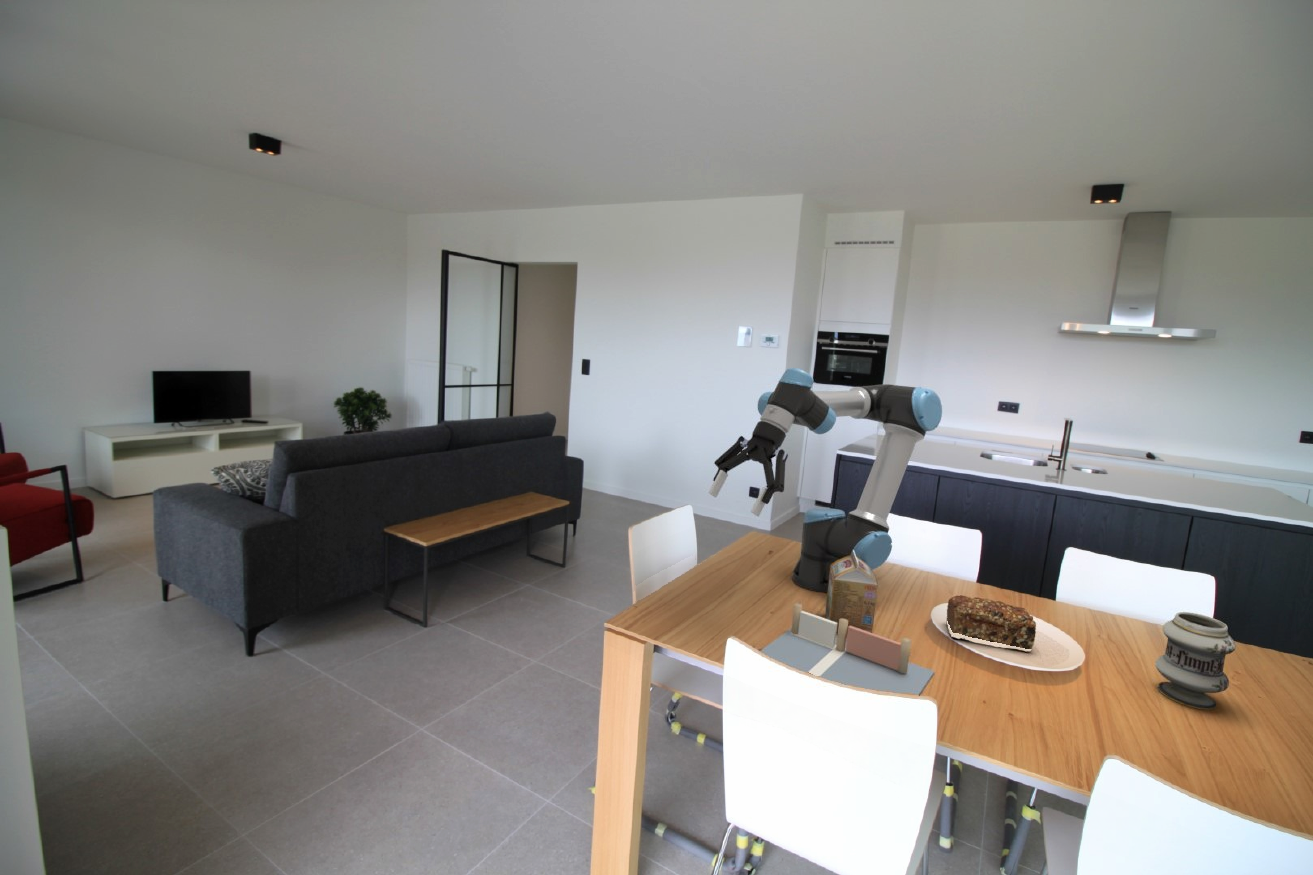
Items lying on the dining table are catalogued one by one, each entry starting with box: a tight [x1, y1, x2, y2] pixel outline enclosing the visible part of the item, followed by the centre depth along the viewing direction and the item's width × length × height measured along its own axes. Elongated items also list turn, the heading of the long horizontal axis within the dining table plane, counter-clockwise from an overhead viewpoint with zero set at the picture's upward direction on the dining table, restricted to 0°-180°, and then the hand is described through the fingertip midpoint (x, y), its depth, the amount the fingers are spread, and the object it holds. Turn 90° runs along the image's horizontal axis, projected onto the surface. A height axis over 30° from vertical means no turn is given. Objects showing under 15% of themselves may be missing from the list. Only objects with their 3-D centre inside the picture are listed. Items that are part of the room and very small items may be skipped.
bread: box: [946, 594, 1037, 650], centre depth 153 cm, size 19×11×10 cm, turn 72°
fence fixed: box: [790, 602, 848, 651], centre depth 145 cm, size 2×14×7 cm, turn 52°
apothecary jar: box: [1155, 611, 1237, 711], centre depth 130 cm, size 12×12×18 cm
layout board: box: [760, 627, 935, 696], centre depth 136 cm, size 22×33×1 cm, turn 51°
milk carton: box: [824, 550, 879, 634], centre depth 155 cm, size 11×11×19 cm
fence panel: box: [845, 626, 912, 673], centre depth 136 cm, size 14×2×7 cm, turn 51°
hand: (732, 504), depth 143 cm, fingers open, 13 cm apart
